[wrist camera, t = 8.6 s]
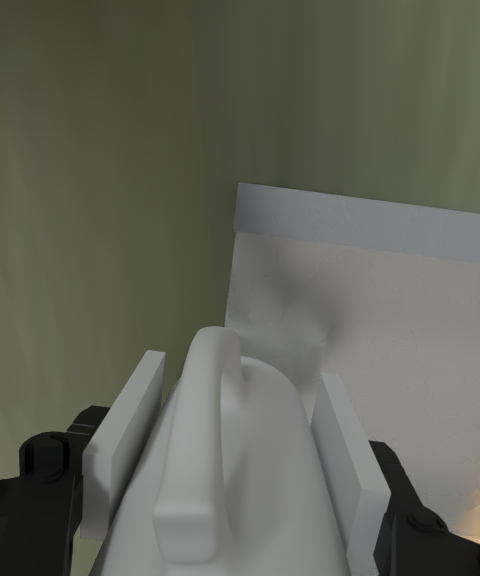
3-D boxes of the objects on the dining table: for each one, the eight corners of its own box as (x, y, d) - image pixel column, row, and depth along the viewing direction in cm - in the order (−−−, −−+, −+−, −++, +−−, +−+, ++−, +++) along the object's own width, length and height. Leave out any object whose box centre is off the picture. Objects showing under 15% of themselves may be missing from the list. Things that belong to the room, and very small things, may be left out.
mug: (311, 481, 18) (411, 986, 7) (166, 484, 19) (29, 974, 7) (309, 268, 16) (465, 501, 4) (142, 275, 16) (-132, 512, 5)
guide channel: (200, 516, 21) (187, 603, 17) (242, 182, 17) (238, 182, 12) (542, 560, 21) (618, 659, 17) (672, 238, 17) (821, 258, 12)
